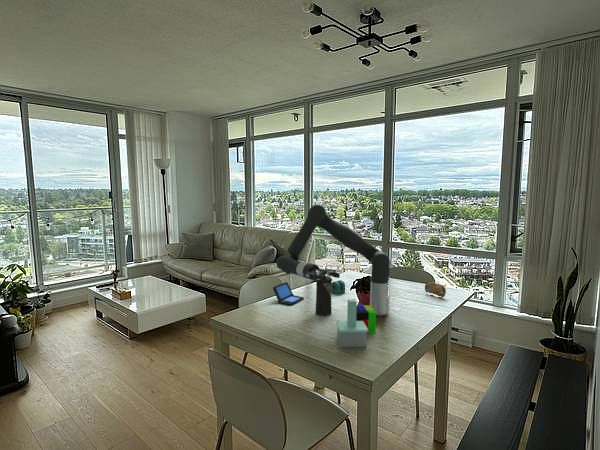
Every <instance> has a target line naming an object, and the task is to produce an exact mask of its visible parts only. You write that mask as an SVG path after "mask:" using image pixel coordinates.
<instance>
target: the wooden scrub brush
mask: <svg viewBox="0 0 600 450" xmlns="http://www.w3.org/2000/svg"><path fill="white" fill-rule="evenodd" d="M424 291H425V293H426V292H429V293H433V294H436V295H438V296H441V297H442V298H444V297H446V293H447V290H446V287H445V286H444V285H443V284H440V283H437V282H434V281H427V282H426V283H425V285H424Z"/></svg>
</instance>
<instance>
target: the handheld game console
mask: <svg viewBox="0 0 600 450" xmlns="http://www.w3.org/2000/svg"><path fill="white" fill-rule="evenodd" d="M272 290H273V292H274V294H275V297H276V298H277V303H278V304H281V305H286V306H293V305H296V304H298V303H300V302H302V301H303V300H305V297H304V296H299V295H294V293H293V292H292V290H291V287H290V285H289V283H288V282H283V283H280V284H278V285H275V286H273V287H272Z"/></svg>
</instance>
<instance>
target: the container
mask: <svg viewBox="0 0 600 450" xmlns="http://www.w3.org/2000/svg"><path fill="white" fill-rule="evenodd" d="M315 281H316V283H315V284H316V290H315V291H316V292H315V294H316V295H315V314H316V315H319V316H325V317H327V316H330V315H331V314H332V293H331V283H332V282H333V277H331V276H329V277H327V280H326V281H323V280H317V279H316V280H315Z"/></svg>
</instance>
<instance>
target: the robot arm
mask: <svg viewBox="0 0 600 450" xmlns="http://www.w3.org/2000/svg"><path fill="white" fill-rule="evenodd" d="M326 213H327V211H326V208H325V207H324V206H323V205H322V204H314V205H312V206H311V207H310V208H309V209H308V210H307V215H306V216H307V217H306V219H305V222H304V223H303V225H302V226H301V227H300V229H299V231H298V232H297V234H296V235H295V237H294V238H293V240H292V241H291V242H290V245H289V246H288V248H287V251H286V252H287V253H288V254H289V256H287V255H283V256H282V255H281V256H279V257H277V259H276V262H275V265H276V267H277V268H278V269H279V270H280V271H282V272H284V273H286V274H287V275H288V274H293V275H295V276H298V277H301V278H303V279H304V278H305V279H307V280H310V281H316V279H317V280H323V281H326V280H327V277H331V278H335V279H340V278H341V277H340V274H341V273H339V272H336V270H335V269H331V268H327V267H326V268H325V269H323V268H320V266H318V264H315V263H312V262H308V261H307V262H306V261H300V260H299V258H300V255H301V254H302V252H303V250H304V249H305V247H306V245H307V243H308V242H309V240H310V238H311V236H312V234H313V233H314V231H315V229H316V228H317V227H320V228H321V229H322V230H324V231H326V232H327V233H328V234H329V235H330V236H331V237H333V238H334V239H335V240H337V242H339V243H341V245H343V246H345V247H346V248H348V249H349V250H352V251H353V252H355V253H357V254H360V255H361V256H363V258H364V259H366V260H367V261H368V262H369V263H370V264H371V275H370V292H369V294H370V295H369V305H370V306H371V307H372V309H373V310H374V311H375V312H376V316H385V315H389V313H390V312H389V309H390V307H389V305H390V296H388V295H389V279H390V271H391V270H390V268H391V259H390V256H388V255H387V254H386V253H385V252H384V251H381V250H380V249H378V248H376V247H375V246H373V245H371V244H370V243H369V242H367V241H366V239H365V238H363V237H362V236H361V235H360V234H358V233H357V232H356V231H355V230H353V229H352V228H351V227H349V226H348V225H345V224H343V223H342V222H338V221H336V220H335V219H333V218H331V217H330V216H329V215H328V214H326Z"/></svg>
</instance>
